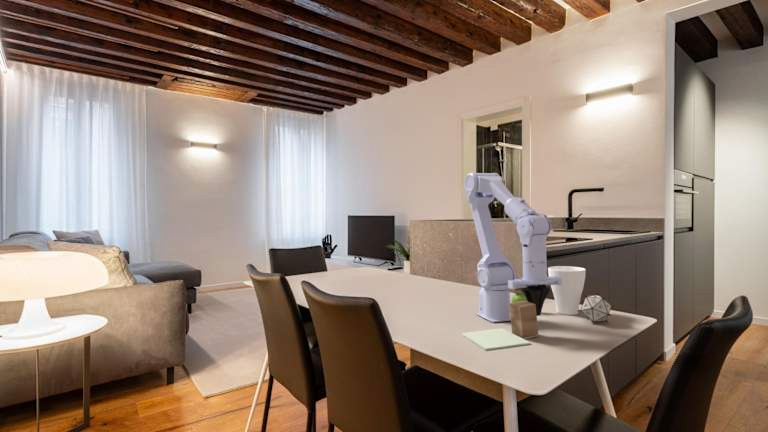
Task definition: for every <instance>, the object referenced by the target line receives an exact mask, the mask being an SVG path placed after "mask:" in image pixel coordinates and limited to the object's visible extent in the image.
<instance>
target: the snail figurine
mask: <svg viewBox="0 0 768 432" xmlns="http://www.w3.org/2000/svg"><path fill="white" fill-rule="evenodd" d="M520 278H521V277H516V279H520ZM511 290H512V292H513V293H514V295H513V296H512V297H511V303H513V302H519V301H524V300H525V301H527V299H526V297H525V295H524V293H523V292H522V290H521V288H516V289H511Z"/></svg>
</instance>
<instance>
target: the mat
mask: <svg viewBox="0 0 768 432" xmlns="http://www.w3.org/2000/svg"><path fill="white" fill-rule="evenodd" d="M460 334H461V336H463V337H465V338H466V339H467V340H469V341H470V342H472V343H473V344H475V346H478V347H479V348H481V349H483V350H484V351H490V350H491V351H493V350H497V349H498V350H499V349H500V350H501V349H505V348H506V349H507V348H512V347H521V346H527V345H531V344H532V343H531V342H530V341H528V340H527V339H522V338H520V337H518V336H516V335H515V334H513V333H512V331H509V330H507V329H504V328H502V327H501V328H493V329H485V330H477V331H470V332H469V331H468V332H461V333H460Z"/></svg>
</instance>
